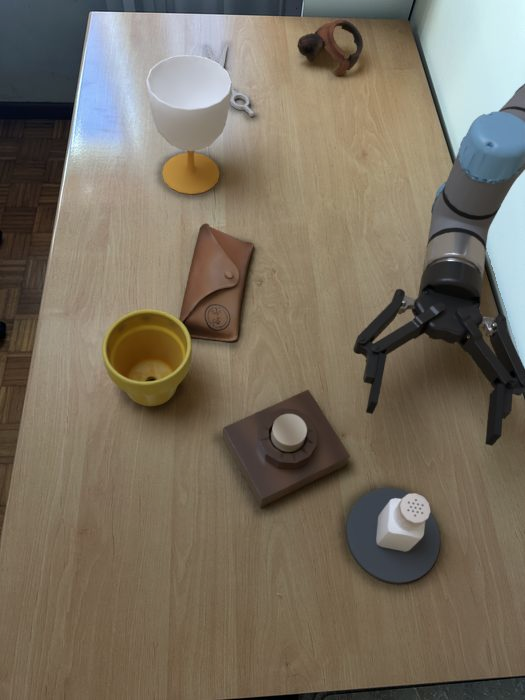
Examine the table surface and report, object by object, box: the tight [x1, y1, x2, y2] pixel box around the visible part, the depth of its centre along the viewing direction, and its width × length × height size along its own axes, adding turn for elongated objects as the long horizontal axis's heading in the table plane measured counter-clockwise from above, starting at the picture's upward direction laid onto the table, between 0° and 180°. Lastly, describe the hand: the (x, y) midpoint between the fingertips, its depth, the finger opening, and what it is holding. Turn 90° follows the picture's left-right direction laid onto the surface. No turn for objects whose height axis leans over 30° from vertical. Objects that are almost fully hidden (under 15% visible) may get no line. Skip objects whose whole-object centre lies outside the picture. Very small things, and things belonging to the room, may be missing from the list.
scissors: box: [205, 42, 255, 118], centre depth 117 cm, size 11×1×20 cm
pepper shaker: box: [376, 492, 431, 552], centre depth 73 cm, size 4×4×10 cm
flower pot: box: [101, 308, 193, 407], centre depth 81 cm, size 10×10×10 cm
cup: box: [145, 54, 233, 195], centre depth 98 cm, size 12×12×17 cm
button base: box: [221, 389, 351, 508], centre depth 80 cm, size 12×10×5 cm
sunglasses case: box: [178, 222, 255, 343], centre depth 93 cm, size 18×7×7 cm, turn 174°
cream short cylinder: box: [271, 414, 307, 452], centre depth 77 cm, size 4×4×2 cm
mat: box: [345, 487, 441, 585], centre depth 77 cm, size 11×11×1 cm
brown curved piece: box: [296, 19, 364, 76], centre depth 120 cm, size 12×10×8 cm
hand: (432, 424), depth 73 cm, fingers open, 13 cm apart
